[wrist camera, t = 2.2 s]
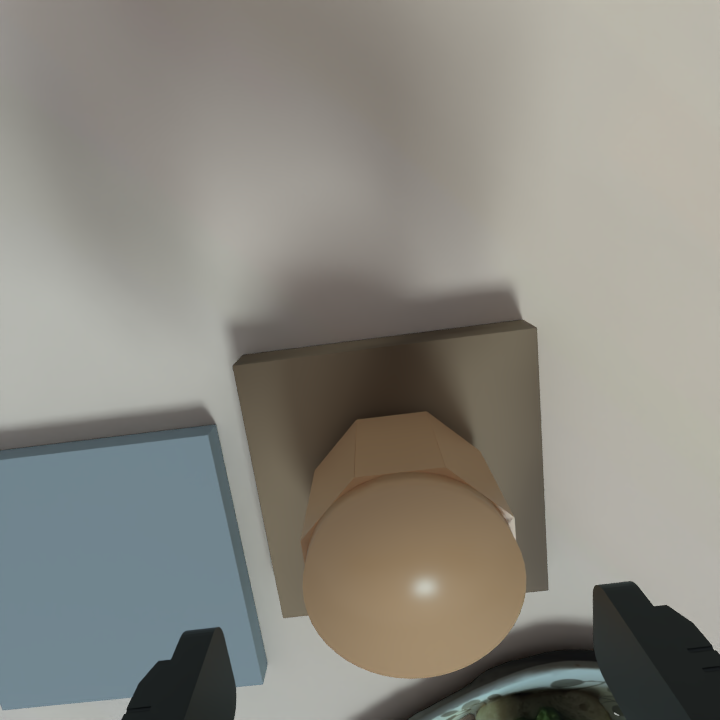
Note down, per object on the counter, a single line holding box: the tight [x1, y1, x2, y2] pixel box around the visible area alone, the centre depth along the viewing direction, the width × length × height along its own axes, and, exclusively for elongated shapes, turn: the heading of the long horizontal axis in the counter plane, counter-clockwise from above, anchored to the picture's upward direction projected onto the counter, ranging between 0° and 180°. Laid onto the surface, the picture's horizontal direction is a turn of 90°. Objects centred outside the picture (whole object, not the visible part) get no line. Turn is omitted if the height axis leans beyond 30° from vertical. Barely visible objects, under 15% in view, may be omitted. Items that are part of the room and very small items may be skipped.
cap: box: [300, 411, 526, 679], centre depth 15 cm, size 6×6×5 cm
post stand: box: [233, 320, 548, 618], centre depth 16 cm, size 10×10×6 cm
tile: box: [0, 425, 267, 710], centre depth 20 cm, size 11×11×1 cm
